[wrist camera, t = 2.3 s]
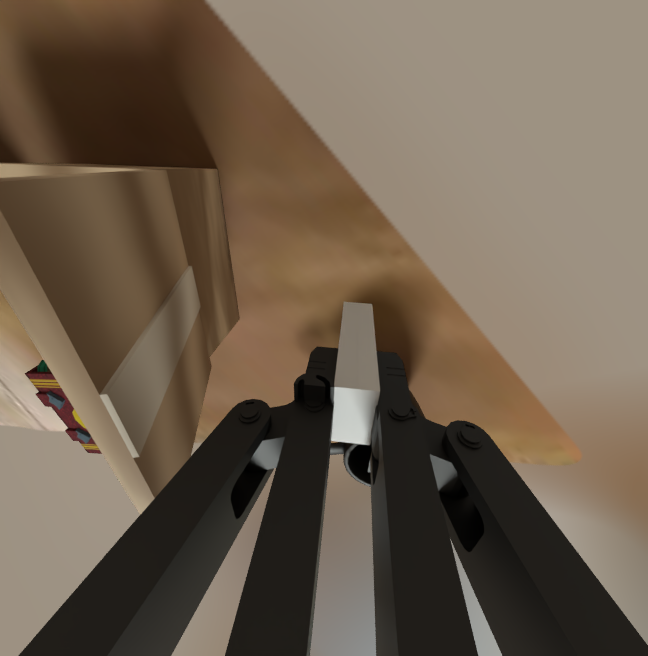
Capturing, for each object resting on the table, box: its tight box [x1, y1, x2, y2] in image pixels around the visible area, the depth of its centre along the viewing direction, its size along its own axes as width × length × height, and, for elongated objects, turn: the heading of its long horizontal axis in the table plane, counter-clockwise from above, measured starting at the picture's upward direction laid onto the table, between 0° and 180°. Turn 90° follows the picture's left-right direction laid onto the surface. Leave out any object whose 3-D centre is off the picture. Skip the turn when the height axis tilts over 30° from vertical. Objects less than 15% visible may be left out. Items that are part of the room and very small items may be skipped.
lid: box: [0, 170, 212, 515], centre depth 14 cm, size 12×14×1 cm
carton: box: [0, 163, 239, 357], centre depth 23 cm, size 12×14×8 cm
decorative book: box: [25, 360, 102, 454], centre depth 36 cm, size 11×16×5 cm
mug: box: [330, 390, 425, 487], centre depth 28 cm, size 8×12×10 cm
